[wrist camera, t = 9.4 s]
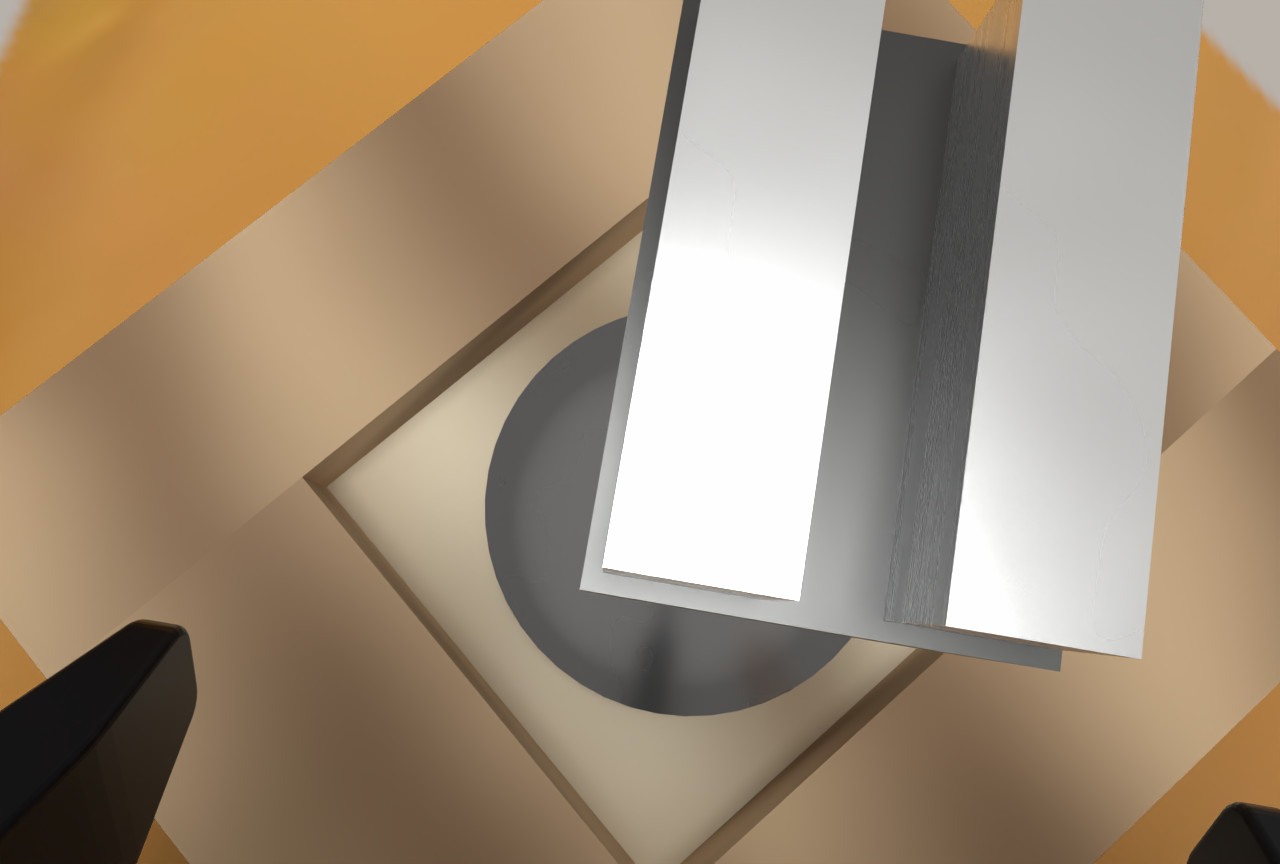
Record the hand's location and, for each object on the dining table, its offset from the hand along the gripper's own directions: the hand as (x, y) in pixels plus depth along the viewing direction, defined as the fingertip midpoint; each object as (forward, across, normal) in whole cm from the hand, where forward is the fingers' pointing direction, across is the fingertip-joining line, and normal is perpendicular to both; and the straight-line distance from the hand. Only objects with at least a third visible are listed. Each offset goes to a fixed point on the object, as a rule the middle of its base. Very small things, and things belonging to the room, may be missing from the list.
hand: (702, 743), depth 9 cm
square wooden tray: (+9, 0, +5) cm, 10 cm away
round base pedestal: (+8, 0, +4) cm, 9 cm away
